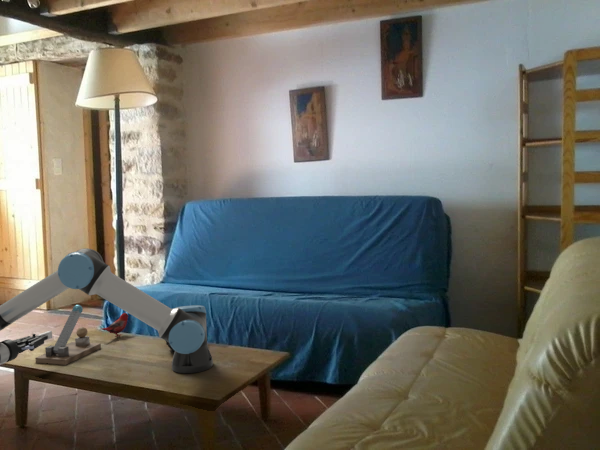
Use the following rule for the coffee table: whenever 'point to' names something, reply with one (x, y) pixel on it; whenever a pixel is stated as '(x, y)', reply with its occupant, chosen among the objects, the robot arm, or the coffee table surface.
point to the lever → (68, 328)
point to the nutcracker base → (70, 350)
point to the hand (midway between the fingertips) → (50, 334)
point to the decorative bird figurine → (118, 325)
